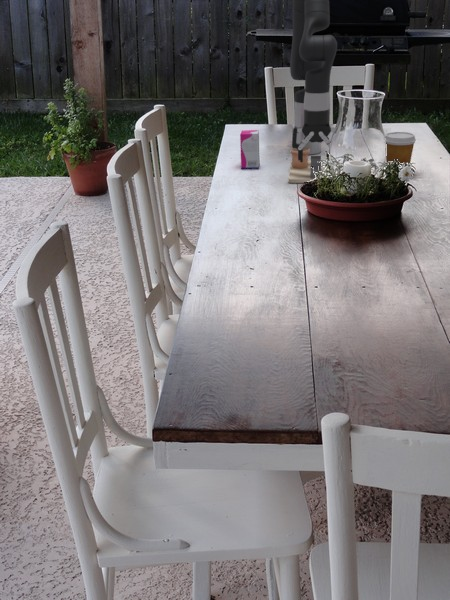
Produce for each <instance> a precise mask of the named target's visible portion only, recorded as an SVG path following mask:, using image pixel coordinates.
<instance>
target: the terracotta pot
mask: <svg viewBox="0 0 450 600" xmlns="http://www.w3.org/2000/svg"><path fill="white" fill-rule="evenodd" d="M302 149H303V162H300V160H298V149H296V148H292V147H291V148H290V151H289V152H290V154H291V159H292V167H293V168H297V169H303V168H307V167H308V159H309V155H308V153H310V149H309V148H307V147H303V148H302Z"/></svg>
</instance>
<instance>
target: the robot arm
mask: <svg viewBox="0 0 450 600" xmlns="http://www.w3.org/2000/svg"><path fill="white" fill-rule="evenodd" d="M330 13H331V12H330V0H292V38H291V39H292V42H291V51H290V52H291V53H290V60H289V61H290V64H289V65H290V66H289V70H290V71H289V72H290V77H291V78H292V79H293V80H295V81H304V88H302V89H299V90H297V91H295V93H294V98H293V99H294V101H293V103H294V105H293V106H294V109H293V110H294V114H293V115H294V116H293V119H294V122H293V123H294V125H293V128H292V141H291V148H296V149H298V160H300V162H303V149H302V148H303V147H307V148H309V149H310V153H308V156H312V155H318V154H320V153H322V142H323V143H325V145H326V146H327V148H329V149H328V150H329V153H328V155H329V154H330V143H331V142H332V140H331V139H330V137H329V135H330V134H331V133H334V130H335V127H336V126H335V127H331V125H330V118H331V117H330V115H331V95H330V83H331V82H330V80H331V72H332V67H333V64H334V60H335V58H336V55H337V50H338V41H337V40H336V38H335V36H334V35H332V34H323V35H321V34H319V35H318V34H317V35H316V34H315V33H317V32H321V31H324V30H326V29H327V28H329V26H330V24H331V21H330V20H331V16H330V15H331V14H330ZM314 34H315V35H314Z"/></svg>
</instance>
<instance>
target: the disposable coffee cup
mask: <svg viewBox="0 0 450 600" xmlns="http://www.w3.org/2000/svg"><path fill="white" fill-rule="evenodd" d="M384 138H386V144H387V156H386V155H385V161H386V162H388V161H394V159H395V158H397V159H398V161H399V162H400V163H403V162H408V163H410V164H411V161H412V155H413V151H414V146H415V145H414V144H415V142H416V140H417V139H416V136H415V134H414V133H412V132H407V131H393V132H387V133H386V134H385V136H384Z"/></svg>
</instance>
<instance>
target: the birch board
mask: <svg viewBox="0 0 450 600" xmlns="http://www.w3.org/2000/svg"><path fill="white" fill-rule="evenodd" d="M290 160H291V161H290V166H289V168H290V169H289V174H288V184H305V183H304V182H307V181H310V180H313V179H314V178H315V175H314V173H313V169H312V168H311V167H310V165H313V166H314V171H315V172H318V166H319V171H322V172H323V167H322V168H321V162H320V163H317V161H321V160H322V161H323V159H322V156H321V155H310V159H309V158H308V167H307V168H303V169H297V168H293V167H292V158H291V159H290Z"/></svg>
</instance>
